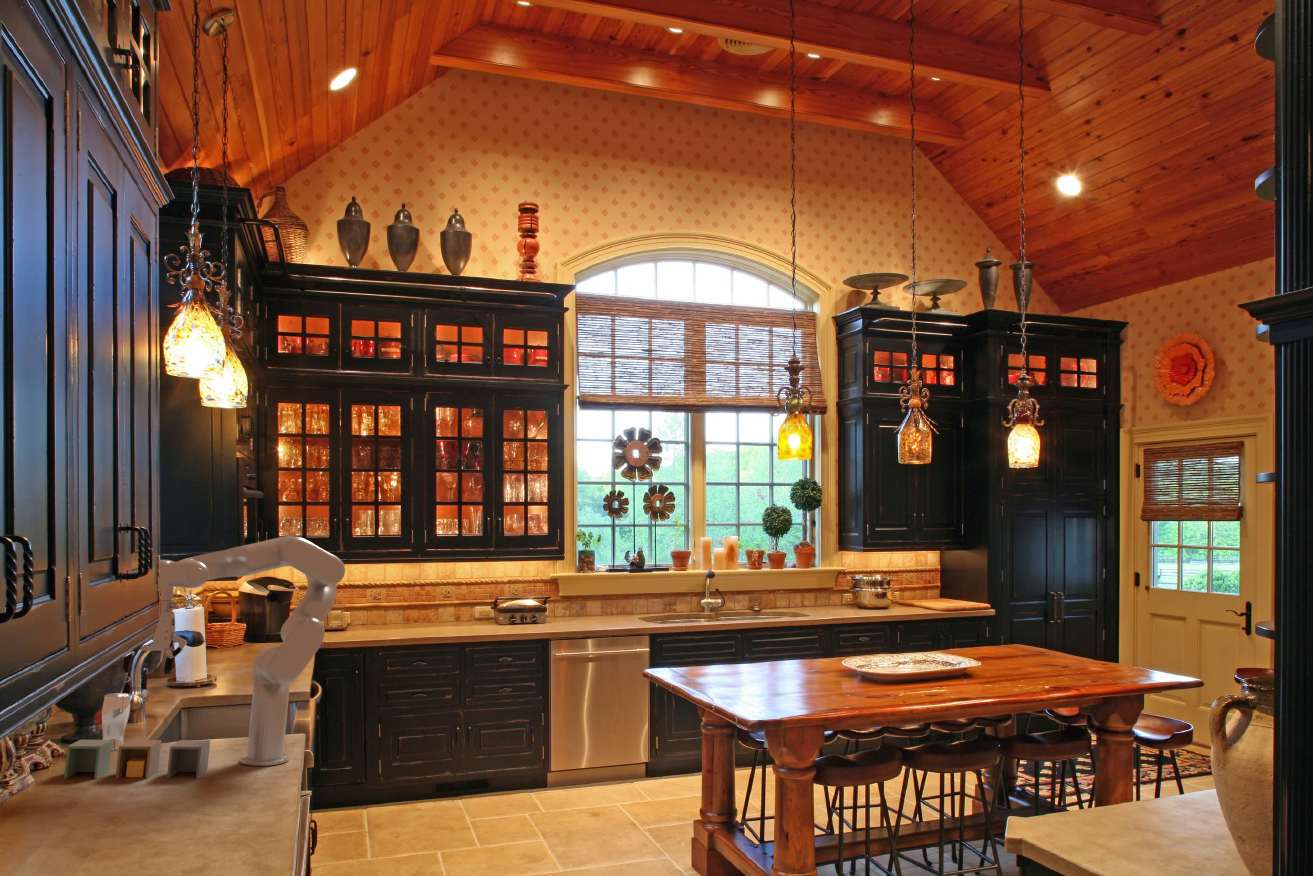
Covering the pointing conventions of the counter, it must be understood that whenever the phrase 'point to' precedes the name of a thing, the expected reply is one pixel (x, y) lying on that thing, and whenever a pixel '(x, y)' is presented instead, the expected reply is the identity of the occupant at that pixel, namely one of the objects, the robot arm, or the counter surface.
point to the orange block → (136, 767)
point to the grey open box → (189, 757)
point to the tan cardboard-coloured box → (139, 755)
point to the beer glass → (115, 717)
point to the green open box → (88, 757)
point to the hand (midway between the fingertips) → (147, 672)
